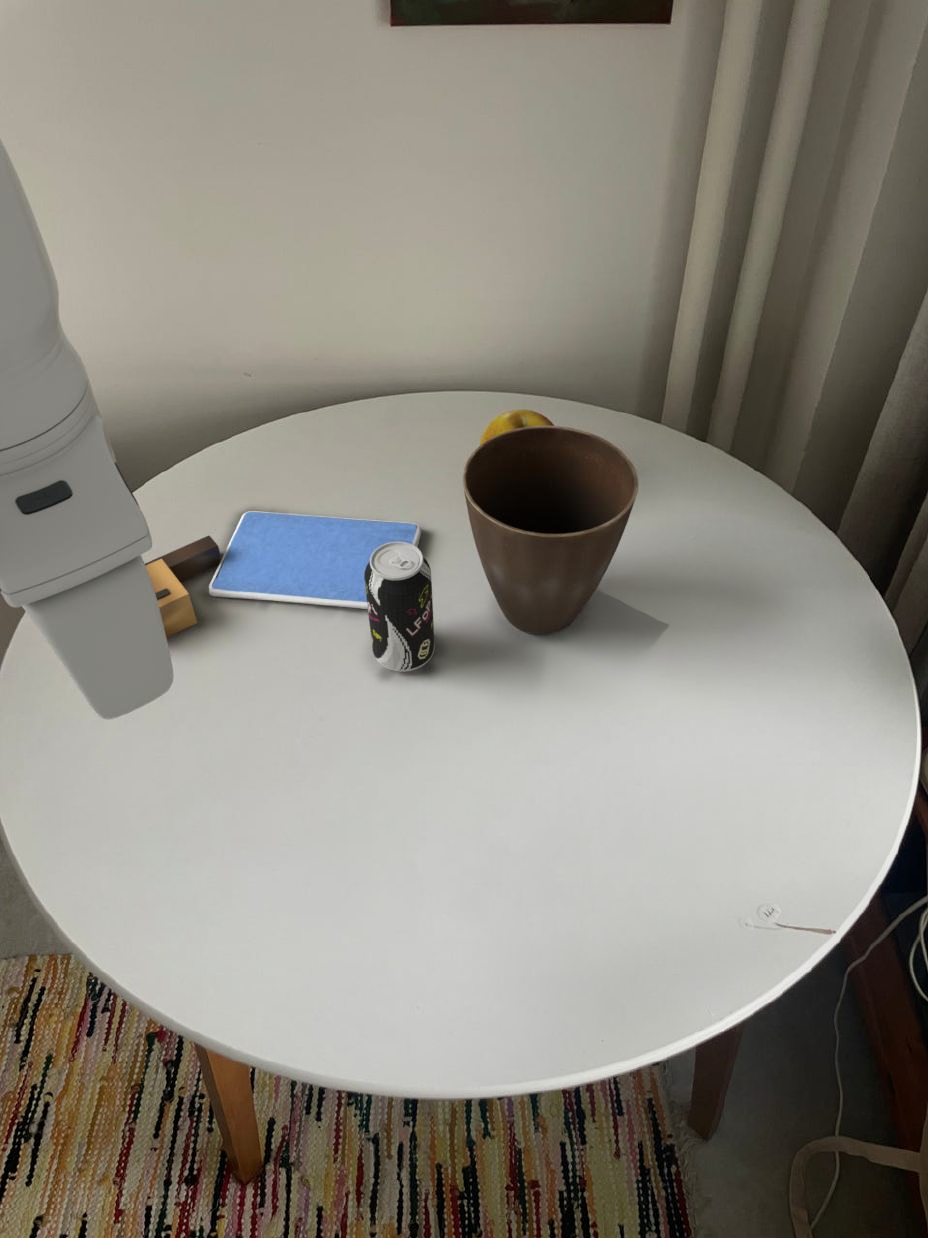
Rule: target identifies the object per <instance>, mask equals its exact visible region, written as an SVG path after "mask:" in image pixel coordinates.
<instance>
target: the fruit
mask: <svg viewBox="0 0 928 1238" xmlns="http://www.w3.org/2000/svg"><path fill="white" fill-rule="evenodd" d="M530 426H555V424H554V423H553V421H551V420H550V419H549V418H548V417H547V416H545V415H543V414H542V413H539V412H537V411H535V410H529V409H515V410H514V409H513V410H509V411H506V412H503V413H501V414H499V415H498V416H496V417H495V418H493V419H492V421H491V422H490V423H489V424H488V425H487V426H486V428H485V430H483V433H482V435H481V438H480V440H479V441H480V442H479V446H480V445H481V444H483V443H484V442H486V441H487V440H489V439H491V438H493V437H495V436H497V435H499V434H502V433H504V432H507V431H510V430H514V429H518V428H524V427H530Z"/></svg>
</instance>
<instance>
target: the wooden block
mask: <svg viewBox="0 0 928 1238" xmlns="http://www.w3.org/2000/svg"><path fill="white" fill-rule="evenodd" d="M146 568H147V571H148V574H149V576H150V579H151V582H152V585H153V588H154V591H155V594H156V598H157V602H158V605H159V609H160V613H161V617H162V622H163V626H164V630H165V634H166V638H170V637H171V636H173V635H176V634H178V633H180V632H181V631H184V630H185V629H186V630H187V629H188V628H190V627H192V626H194V625H197V624H198V619H197V617H196V614H195V610H194V606H193V603H192V600H191V596H190V593H189V592H188V590H187V589H186V588H185V586H184V585H183V584H182V582H181V583H180V581H179V580H178V579H177V578H176V576H175V575H174V574H173V572H172V571H171V570H170V568H169V567H168V566H167V565H166V563H165V562H164V561H163V559H159V560H157V561H155V562H153V563H150V564H148V565H146Z"/></svg>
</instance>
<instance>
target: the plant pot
mask: <svg viewBox="0 0 928 1238" xmlns="http://www.w3.org/2000/svg"><path fill="white" fill-rule="evenodd" d="M462 486H463V487H462V488H463V491H464V498H465V502H466V503H465V504H466V508H467V514H468V520H469V525H470V528H471V529H470V530H471V531H472V536H473V540H474V544H475V547H476V548H475V549H476V550H477V554H478V557H479V560H480V563H481V566H482V569H483V572H484V574H485V577H486V579H487V582H488V584H489V587H490V590H491V591H492V593H493V596H494V598H495V600H496V602H497V604H498V606H499V608H500V610H501V612H502V614H503V616H504V618H505V619H506V620H507V621H508V623H510V625H512V626H513V627H515V628H516V629H518V630H520V631H522V632H525V633H528V634H533V635H543V636H544V635H551V634H556V633H559V632H561V631H564V630H566V629H567V628H569V627H570V626H571V625H572V624H573V623H574V622H575V621H576V619H577V618H578V617H579V615H580V614H581V613H582V611H583V610H584V608H585V607H586V605H587V604H588V603H589V601H590V599H591V598H592V596H594V594H595V591H596V590H597V589H598V587H599V585H600V583H601V581H602V580H603V578H604V576H605V574H606V572H607V570H608V568H609V566H610V564H611V562H612V560H613V558H614V556H615V553H616V551H617V549H618V547H619V545H620V542H621V540H622V538H623V535H624V533H625V530H626V527H627V524H628V522H629V519H630V517H631V513H632V510H633V508H634V504H635V501H636V498H637V495H638V491H639V478H638V474H637V470H636V468H635V467H634V464H633V462H632V461H631V460H630V458H629V457H628V456H627V455H626V454H625V453H624V452H623V450H621V449H620V448H618V446H616V445H615V444H614V443H612V442H610V441H608V440H606V439H605V438H604V437H601V436H599V435H596V434H594V433H592V432H589V431H586V430H582V429H578V428H573V427H568V426H562V425H561V426H560V425H554V426H530V427H524V428H518V429H514V430H510V431H507V432H504V433H502V434H499V435H497V436H495V437H493V438H491V439H489V440H487V441H486V442H484V443H483V444H481V445H480V444H479V445H478V447H477V448H476V449H474V450H473V451H472V452H471V454H470V455H469V456H468V458H467V460H466V462H465V465H464V467H463V470H462Z"/></svg>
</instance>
